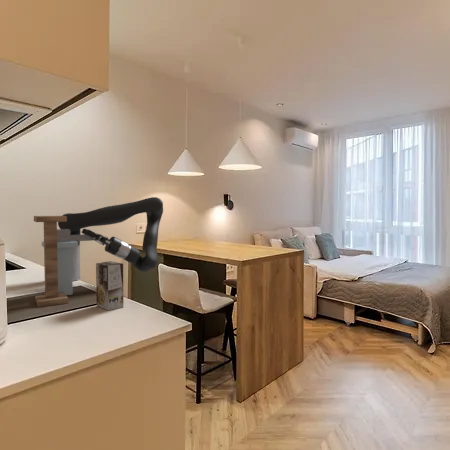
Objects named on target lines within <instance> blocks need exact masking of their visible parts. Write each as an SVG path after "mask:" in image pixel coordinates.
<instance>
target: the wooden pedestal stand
mask: <svg viewBox="0 0 450 450" xmlns="http://www.w3.org/2000/svg"><path fill="white" fill-rule="evenodd" d="M33 222H36V223H43V241H44V247H43V253H44V254H43V255H44V256H43V258H44V260H43V261H44V294H39V295H35V303H36V305H37V308H41V307H42V308H43V307H50V306H56V305H63V304H69V297H68V295H65V294H64V293H58V260H57V229H58V222H67V216H62V215H34V216H33Z"/></svg>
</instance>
